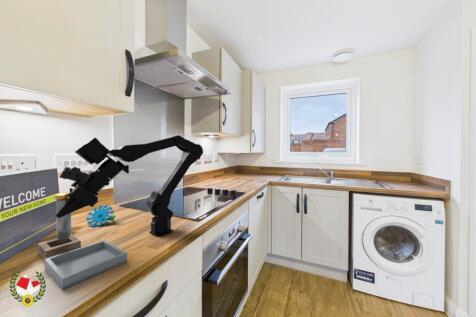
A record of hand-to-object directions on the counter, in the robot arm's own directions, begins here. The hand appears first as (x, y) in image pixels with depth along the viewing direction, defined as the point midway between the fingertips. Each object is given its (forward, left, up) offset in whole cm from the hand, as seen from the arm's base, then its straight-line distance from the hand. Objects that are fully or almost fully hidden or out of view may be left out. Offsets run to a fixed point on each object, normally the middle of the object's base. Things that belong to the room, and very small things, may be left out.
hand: (57, 215), depth 56 cm
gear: (-19, -20, -13) cm, 31 cm away
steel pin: (-1, 0, -7) cm, 7 cm away
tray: (-4, +11, -12) cm, 17 cm away
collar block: (-2, -4, -12) cm, 13 cm away
